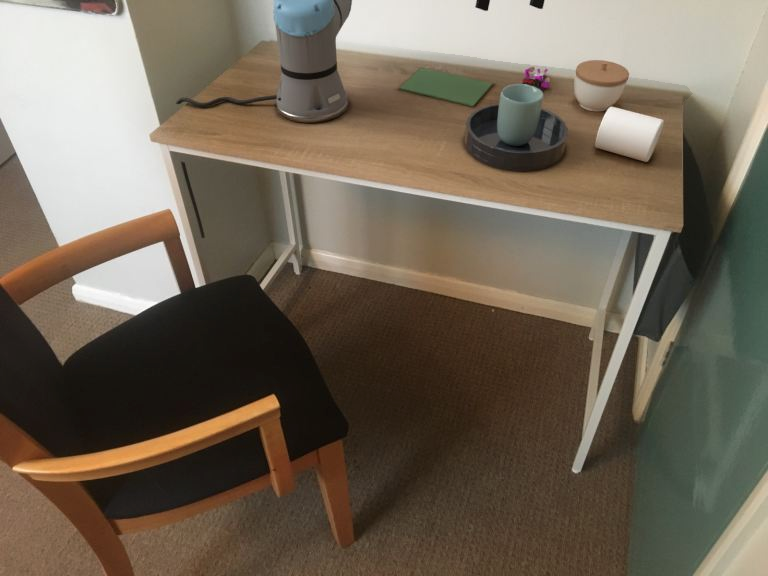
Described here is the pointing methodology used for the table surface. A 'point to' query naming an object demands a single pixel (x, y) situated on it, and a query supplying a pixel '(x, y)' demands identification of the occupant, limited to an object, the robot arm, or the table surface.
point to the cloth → (446, 86)
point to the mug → (629, 133)
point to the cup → (518, 113)
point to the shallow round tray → (527, 157)
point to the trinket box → (599, 84)
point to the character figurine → (536, 78)
